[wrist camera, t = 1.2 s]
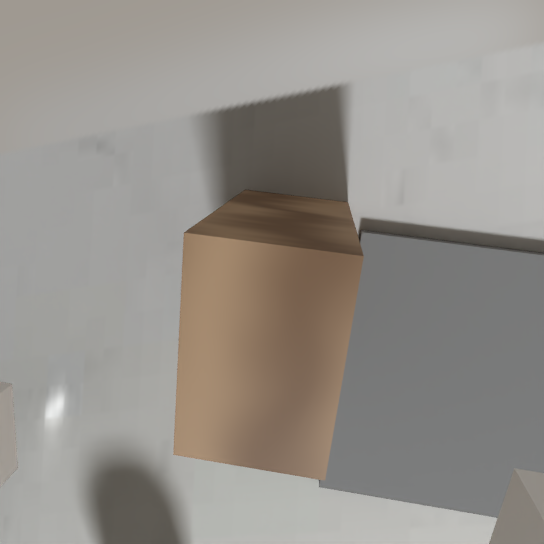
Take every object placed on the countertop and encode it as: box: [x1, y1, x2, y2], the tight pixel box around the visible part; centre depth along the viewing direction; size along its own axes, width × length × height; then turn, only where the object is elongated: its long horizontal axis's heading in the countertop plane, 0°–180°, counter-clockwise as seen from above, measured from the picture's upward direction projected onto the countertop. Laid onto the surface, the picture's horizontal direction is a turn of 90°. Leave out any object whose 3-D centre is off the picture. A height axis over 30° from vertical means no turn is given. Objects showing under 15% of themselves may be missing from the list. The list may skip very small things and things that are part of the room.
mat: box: [319, 230, 544, 518], centre depth 28 cm, size 22×18×1 cm
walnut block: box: [173, 190, 364, 480], centre depth 22 cm, size 6×9×12 cm, turn 174°
